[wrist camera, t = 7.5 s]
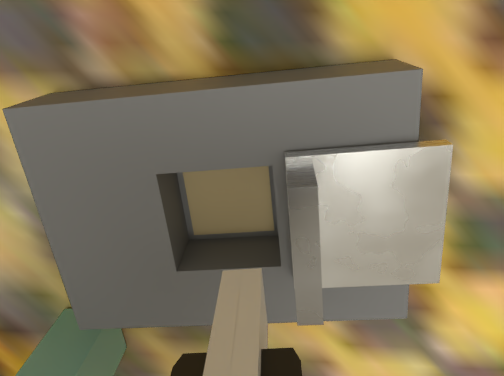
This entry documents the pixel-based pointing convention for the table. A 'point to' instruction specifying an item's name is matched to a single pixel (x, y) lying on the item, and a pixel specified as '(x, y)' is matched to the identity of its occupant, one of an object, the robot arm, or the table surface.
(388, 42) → the table surface
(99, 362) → the plug
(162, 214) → the socket
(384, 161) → the shutter
